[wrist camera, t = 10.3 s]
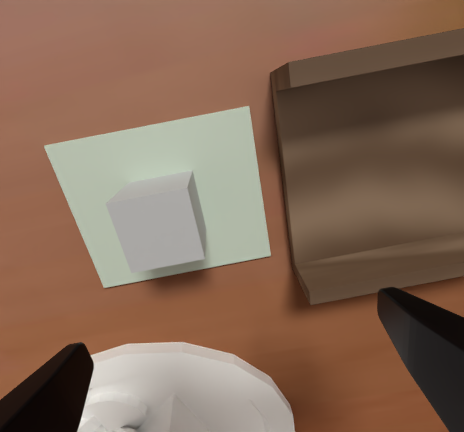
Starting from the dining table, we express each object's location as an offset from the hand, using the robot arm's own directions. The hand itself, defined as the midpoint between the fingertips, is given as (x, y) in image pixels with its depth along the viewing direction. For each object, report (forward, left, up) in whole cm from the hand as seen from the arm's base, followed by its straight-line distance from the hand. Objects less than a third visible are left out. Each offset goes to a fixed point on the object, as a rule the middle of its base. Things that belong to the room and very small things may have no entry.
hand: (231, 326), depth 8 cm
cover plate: (+1, +3, -11) cm, 12 cm away
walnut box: (+1, -11, -11) cm, 15 cm away
